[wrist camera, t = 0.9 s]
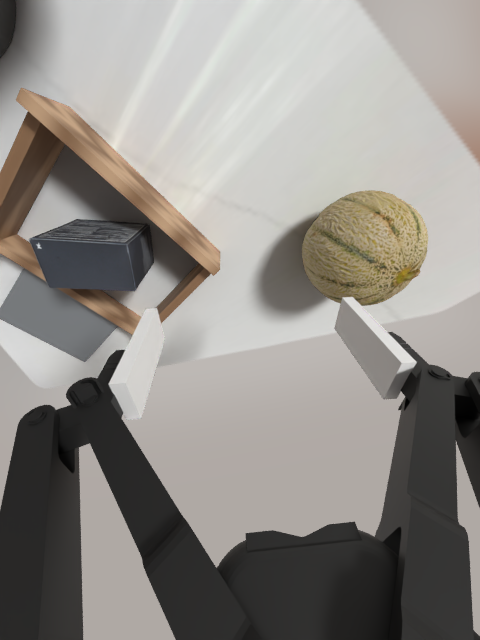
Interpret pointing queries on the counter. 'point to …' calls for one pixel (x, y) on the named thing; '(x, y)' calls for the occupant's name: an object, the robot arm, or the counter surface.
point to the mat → (54, 317)
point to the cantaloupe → (365, 247)
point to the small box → (95, 255)
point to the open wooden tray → (69, 128)
